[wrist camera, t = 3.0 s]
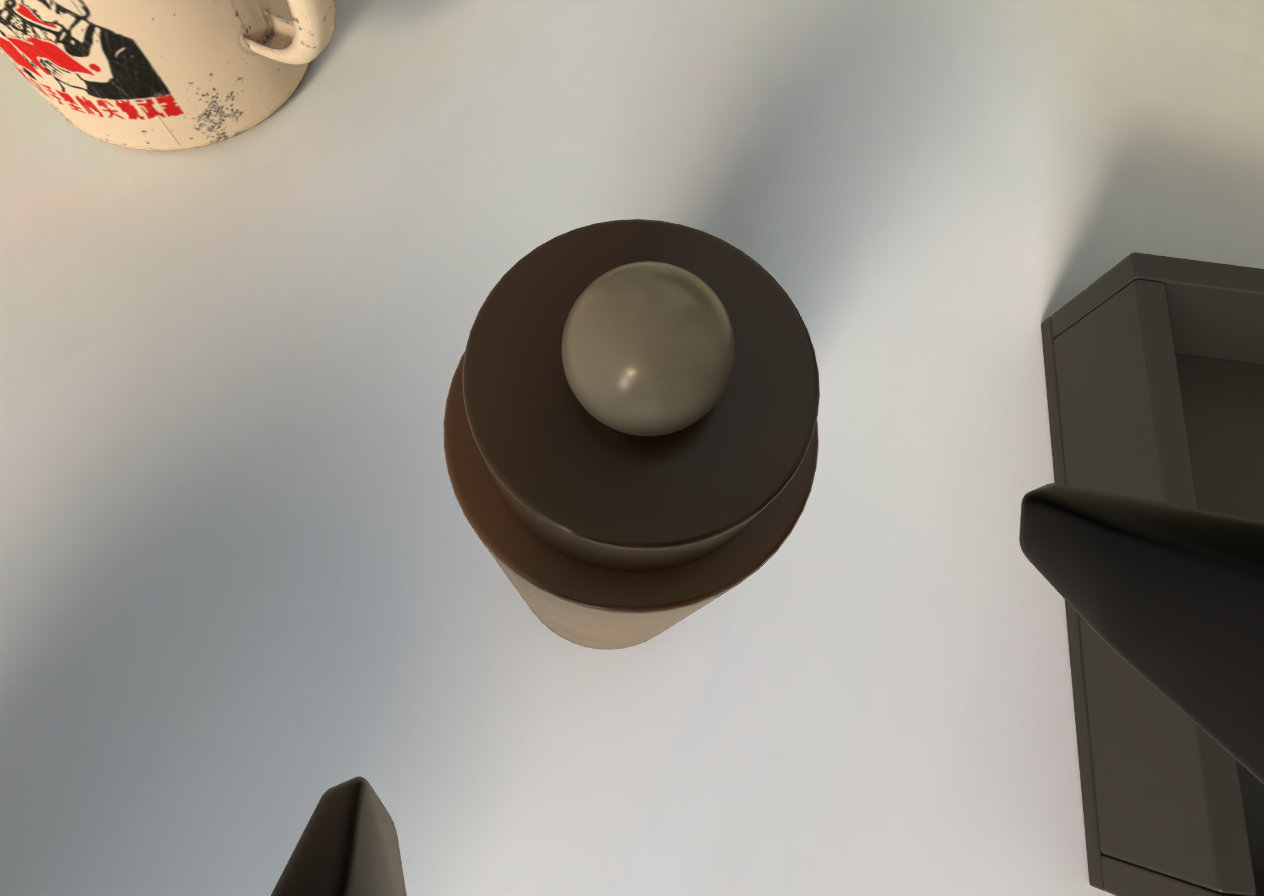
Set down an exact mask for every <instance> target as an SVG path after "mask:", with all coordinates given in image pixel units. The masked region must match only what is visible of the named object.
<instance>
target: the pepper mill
mask: <svg viewBox="0 0 1264 896" xmlns="http://www.w3.org/2000/svg"><path fill="white" fill-rule="evenodd" d="M819 396H820V392H819V372H818V367H817V362H816V356H815V351H814V348H813V345H812V342H811V339H810V336H809V333H808V330H807V328H806V326H805V324H804V322H803V320H802V318H801V316H800V314H799V311H798V310H797V308H796V307H795V305H794V304H793V302H792V301H791V299H790V298H789V296H788V295H787V293H786V292H785V291H784V290H783V288H782V287H781V286H780V285H779V284H778V282H777V281H776V280H775V279H774V278H773V277H772V276H771V275H770V274H769V273H768V272H767V271H766V270H765V269H764V268H763V267H762V266H760V265H759V264H758V263H757V262H756V261H754V260H753V259H752V258H750V257H749V256H748V255H746V254H745V253H744V252H742V251H741V250H739V249H737V248H736V247H734V246H732V245H730V244H729V243H727V242H725V241H723V240H722V239H719V238H717V237H715V236H712V235H710V234H708V233H705V232H703V231H700V230H697V229H693V228H690V227H687V226H684V225H680V224H674V223H669V222H663V221H655V220H641V219H635V220H615V221H609V222H602V223H596V224H592V225H589V226H585V227H581V228H578V229H574V230H572V231H570V232H567V233H565V234H562V235H560V236H557V237H555V238H553V239H551V240H550V241H548V242H546V243H544V244H542V245H541V246H539V247H537V248H536V249H534V250H533V251H532V252H530V253H529V254H527V255H526V256H525V257H523V258H522V259H521V260H519V261H518V262H517V263H516V264H515V265H514V266H513V267H512V268H511V269H510V270H509V271H508V272H507V273H506V274H505V275H504V276H503V277H502V278H501V280H500V281H499V282H498V283H497V285H496V286H495V287H494V288H493V289H492V291H491V292H490V294H489V295H488V297H487V299H486V300H485V302H484V304H483V305H482V307H481V309H480V310H479V312H478V315H477V317H476V319H475V322H474V324H473V326H472V329H471V331H470V335H469V339H468V342H467V346H466V350H465V352H464V354H463V355H462V357H461V360H460V362H459V364H458V367H457V369H456V371H455V374H454V376H453V378H452V382H451V386H450V389H449V393H448V397H447V401H446V409H445V417H444V450H445V457H446V463H447V469H448V473H449V477H450V480H451V483H452V486H453V490H454V493H455V495H456V498H457V500H458V502H459V504H460V506H461V508H462V510H463V513H464V515H465V517H466V518H467V520H468V521H469V523H470V524H471V526H472V527H473V529H474V531H475V532H476V534H477V535H478V537H479V538H480V540H481V541H482V542H483V544H484V545H485V546H486V548H487V549H488V551H489V552H490V553H491V555H492V556H493V557H494V559H495V560H496V562H497V563H498V564H499V566H500V567H501V568H502V570H503V571H504V573H505V574H506V575H507V577H508V578H509V579H510V581H511V582H512V584H513V585H514V586H515V588H516V589H517V590H518V592H519V593H520V595H521V596H522V597H523V599H524V600H525V601H526V603H527V604H528V606H529V607H530V608H531V610H532V611H533V612H534V614H535V615H536V616H537V617H538V618H539V619H540V621H541V622H542V623H543V624H545V625H546V626H547V627H548V628H549V629H550V630H551V631H553V632H554V633H556V634H557V635H559V636H560V637H562V638H564V639H566V640H568V641H570V642H572V643H575V644H578V645H581V646H584V647H589V648H595V649H621V648H626V647H630V646H635V645H637V644H640V643H643V642H645V641H647V640H649V639H651V638H653V637H655V636H657V635H658V634H660V633H662V632H663V631H665V630H666V629H668V628H670V627H671V626H673V625H674V624H676V623H678V622H679V621H681V620H682V619H684V618H686V617H687V616H689V615H690V614H692V613H694V612H695V611H697V610H698V609H700V608H702V607H703V606H705V605H706V604H708V603H710V602H711V601H713V600H714V599H716V598H718V597H719V596H721V595H722V594H724V593H726V592H727V591H729V590H730V589H732V588H734V587H735V586H737V585H738V584H740V583H741V582H742V581H744V580H745V579H746V578H748V577H749V576H750V575H752V574H753V573H755V572H756V571H757V570H759V569H760V568H761V567H762V566H763V565H764V564H765V563H766V562H767V561H768V560H769V559H770V558H771V557H772V556H773V555H774V554H775V553H776V552H777V550H778V549H779V548H780V547H781V545H782V544H783V543H784V541H785V540H786V539H787V537H788V536H789V535H790V533H791V532H792V530H793V528H794V526H795V525H796V523H797V521H798V519H799V518H800V516H801V514H802V512H803V510H804V507H805V505H806V502H807V499H808V497H809V494H810V492H811V488H812V484H813V480H814V476H815V471H816V466H817V455H818V423H817V416H818V406H819Z"/></svg>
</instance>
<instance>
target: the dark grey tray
mask: <svg viewBox="0 0 1264 896" xmlns="http://www.w3.org/2000/svg"><path fill="white" fill-rule="evenodd" d="M1041 330H1042V341H1043V353H1044V364H1045V376H1046V387H1047V399H1048V410H1049V422H1050V433H1051V445H1052V456H1053V468H1054V479H1055V483H1058V484H1064V485H1069V486H1074V487H1080V488H1085V489H1090V490H1096V491H1101V492H1107V493H1112V494H1117V495H1123V496H1128V497H1133V498H1139V499H1144V500H1150V501H1155V502H1160V503H1166V504H1171V505H1176V506H1182V507H1187V508H1193V509H1198V510H1203V511H1209V512H1214V513H1220V514H1225V515H1230V516H1236V517H1241V518H1246V519H1252V520H1257V521H1263V522H1264V269H1258V268H1250V267H1243V266H1235V265H1227V264H1219V263H1212V262H1204V261H1196V260H1189V259H1181V258H1173V257H1165V256H1158V255H1150V254H1142V253H1131V254H1130V255H1129V256H1127V257H1126V258H1125V259H1123V260H1122V261H1121V262H1120V263H1118V264H1117V265H1116V266H1115V267H1113V268H1112V269H1111V270H1109V271H1108V272H1107V273H1106V274H1104V275H1103V276H1102V277H1100V278H1099V279H1098V280H1097V281H1095V282H1094V283H1093V284H1091V285H1090V286H1089V287H1088V288H1086V289H1085V290H1084V291H1083V292H1081V293H1080V294H1079V295H1077V296H1076V297H1075V298H1074V299H1072V300H1071V301H1070V302H1068V303H1067V304H1066V305H1065V306H1063V307H1062V308H1061V309H1059V310H1058V311H1057V312H1056V313H1054V314H1053V315H1052V317H1049V318H1048V319H1046V320H1045V321H1044V322H1042V324H1041ZM1065 605H1066V617H1067V628H1068V640H1069V651H1070V663H1071V674H1072V686H1073V697H1074V709H1075V720H1076V732H1077V743H1078V755H1079V766H1080V778H1081V789H1082V801H1083V812H1084V824H1085V835H1086V847H1087V858H1088V870H1089V881H1090V885H1091V886H1093V887H1096V888H1098V889H1101V890H1103V891H1107V892H1109V893H1111V894H1113V895H1116V896H1264V784H1263V783H1261V782H1260V781H1259V780H1258V779H1257V778H1256V777H1255V776H1254V775H1252V774H1251V773H1250V772H1249V771H1248V770H1247V769H1246V768H1245V767H1244V766H1242V765H1241V764H1240V763H1239V762H1238V761H1237V760H1236V759H1235V758H1233V757H1232V756H1231V755H1230V754H1229V753H1228V752H1227V751H1226V750H1225V749H1223V748H1222V747H1221V746H1220V745H1219V744H1218V743H1217V742H1216V741H1214V740H1213V739H1212V738H1211V737H1210V736H1209V735H1208V734H1207V733H1206V732H1204V731H1203V730H1202V729H1201V728H1200V727H1199V726H1198V725H1197V724H1196V723H1194V722H1193V721H1192V720H1191V719H1190V718H1189V717H1188V716H1187V715H1185V714H1184V713H1183V712H1182V711H1181V710H1180V709H1179V708H1178V707H1177V706H1175V705H1174V704H1173V703H1172V702H1171V701H1170V700H1169V699H1168V698H1166V697H1165V696H1164V695H1163V694H1162V693H1161V692H1160V691H1159V690H1158V689H1156V688H1155V687H1154V686H1153V685H1152V684H1151V683H1150V682H1149V681H1147V680H1146V679H1145V678H1144V677H1143V676H1142V675H1141V674H1140V673H1139V672H1137V671H1136V670H1135V669H1134V668H1133V667H1132V666H1131V665H1130V664H1128V663H1127V662H1126V661H1125V660H1124V659H1123V658H1122V657H1121V656H1120V655H1119V654H1118V653H1116V652H1115V651H1114V650H1113V649H1112V648H1111V647H1110V646H1109V645H1108V644H1107V643H1106V642H1105V641H1104V640H1103V639H1102V638H1101V637H1100V636H1099V635H1098V634H1097V633H1096V632H1095V631H1094V630H1093V629H1092V628H1091V627H1090V626H1089V624H1088V623H1087V622H1086V621H1085V620H1084V619H1083V618H1082V617H1081V616H1080V615H1079V614H1078V613H1077V612H1076V610H1075V609H1074V608H1073V607H1072V606H1071V605H1070V604H1069V603H1068V602H1067V601H1066V600H1065Z"/></svg>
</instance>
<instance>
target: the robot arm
mask: <svg viewBox="0 0 1264 896" xmlns="http://www.w3.org/2000/svg"><path fill="white" fill-rule="evenodd" d="M1019 541H1020V546H1021V549H1022V551H1023V553H1024V554H1025V556H1026V557H1027V559H1028V560H1029V561H1030V562H1031V563H1032V564H1033V565H1034V566H1035V567H1036V569H1037V570H1038V571H1039V572H1040V573H1041V574H1042V575H1043V576H1044V577H1045V578H1046V579H1047V580H1048V581H1049V583H1050V584H1051V585H1052V586H1053V587H1054V588H1055V589H1056V590H1057V591H1058V592H1059V593H1060V594H1061V595H1062V596H1063V598H1064V599H1065V600H1066V601H1067V602H1068V603H1069V604H1070V605H1071V606H1072V607H1073V608H1074V609H1075V610H1076V612H1077V613H1078V614H1079V615H1080V616H1081V617H1082V618H1083V619H1084V620H1085V621H1086V622H1087V623H1088V624H1089V626H1090V627H1091V628H1092V629H1093V630H1094V631H1095V632H1096V633H1097V634H1098V635H1099V636H1100V637H1101V638H1102V639H1103V640H1104V641H1105V642H1106V643H1107V644H1108V645H1109V646H1110V647H1111V648H1112V649H1113V650H1114V651H1115V652H1116V653H1118V654H1119V655H1120V656H1121V657H1122V658H1123V659H1124V660H1125V661H1126V662H1127V663H1128V664H1130V665H1131V666H1132V667H1133V668H1134V669H1135V670H1136V671H1137V672H1139V673H1140V674H1141V675H1142V676H1143V677H1144V678H1145V679H1146V680H1147V681H1149V682H1150V683H1151V684H1152V685H1153V686H1154V687H1155V688H1156V689H1158V690H1159V691H1160V692H1161V693H1162V694H1163V695H1164V696H1165V697H1166V698H1168V699H1169V700H1170V701H1171V702H1172V703H1173V704H1174V705H1175V706H1177V707H1178V708H1179V709H1180V710H1181V711H1182V712H1183V713H1184V714H1185V715H1187V716H1188V717H1189V718H1190V719H1191V720H1192V721H1193V722H1194V723H1196V724H1197V725H1198V726H1199V727H1200V728H1201V729H1202V730H1203V731H1204V732H1206V733H1207V734H1208V735H1209V736H1210V737H1211V738H1212V739H1213V740H1214V741H1216V742H1217V743H1218V744H1219V745H1220V746H1221V747H1222V748H1223V749H1225V750H1226V751H1227V752H1228V753H1229V754H1230V755H1231V756H1232V757H1233V758H1235V759H1236V760H1237V761H1238V762H1239V763H1240V764H1241V765H1242V766H1244V767H1245V768H1246V769H1247V770H1248V771H1249V772H1250V773H1251V774H1252V775H1254V776H1255V777H1256V778H1257V779H1258V780H1259V781H1260V782H1261V783H1263V784H1264V522H1263V521H1257V520H1252V519H1246V518H1241V517H1236V516H1230V515H1225V514H1220V513H1214V512H1209V511H1203V510H1198V509H1193V508H1187V507H1182V506H1176V505H1171V504H1166V503H1160V502H1155V501H1150V500H1144V499H1139V498H1133V497H1128V496H1123V495H1117V494H1112V493H1107V492H1101V491H1096V490H1090V489H1085V488H1080V487H1074V486H1069V485H1064V484H1058V483H1051V484H1047V485H1045V486H1042V487H1040V488H1037V489H1035V490H1033V491H1030V492H1028V493H1027V494H1025V496H1024V497H1023V499H1022V503H1021V519H1020V536H1019ZM271 896H407V895H406V889H405V882H404V876H403V869H402V863H401V856H400V850H399V843H398V837H397V833H396V829H395V826H394V823H393V820H392V818H391V816H390V815H389V813H388V812H387V810H386V808H385V807H384V805H383V804H382V802H381V801H380V799H379V798H378V796H377V795H376V793H375V791H374V790H373V788H372V787H371V785H370V784H369V782H368V781H367V780H366V779H364V778H363V777H355V778H353V779H350V780H348V781H346V782H343V783H341V784H339V785H336V786H334V787H332V788H330V789H328V790H327V791H326V792H325V793H324V794H323V796H322V797H321V799H320V801H319V803H318V805H317V807H316V809H315V811H314V813H313V814H312V816H311V818H310V820H309V822H308V824H307V826H306V828H305V830H304V832H303V834H302V836H301V838H300V840H299V842H298V844H297V846H296V848H295V849H294V851H293V853H292V855H291V857H290V859H289V861H288V863H287V865H286V867H285V869H284V871H283V873H282V875H281V877H280V879H279V881H278V883H277V884H276V886H275V888H274V890H273V892H272V894H271Z"/></svg>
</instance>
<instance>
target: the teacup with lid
mask: <svg viewBox="0 0 1264 896" xmlns="http://www.w3.org/2000/svg"><path fill="white" fill-rule="evenodd" d="M334 27H335V6H334V1H333V0H0V51H1V52H2V53H3V54H4V55H5V56H6V57H7V58H8V59H9V60H10V62H11V63H12V64H13V65H14V66H15V67H16V68H17V69H18V70H19V71H20V72H21V73H22V75H23V76H24V77H25V78H26V79H27V80H28V81H29V82H30V83H31V84H32V85H33V86H34V88H35V89H36V90H37V91H38V92H39V93H40V94H41V95H42V96H43V97H44V98H45V99H46V101H47V102H48V103H49V104H50V105H51V106H52V107H53V108H54V109H55V110H56V111H57V112H58V113H59V114H60V115H61V116H63V117H64V118H65V119H66V120H67V121H69V122H70V123H71V124H73V125H74V126H76V127H77V128H79V129H81V130H82V131H84V132H86V133H88V134H90V135H92V136H95V137H97V138H99V139H101V140H104V141H107V142H110V143H113V144H116V145H121V146H125V147H130V148H136V149H144V150H181V149H189V148H195V147H201V146H205V145H209V144H213V143H216V142H219V141H222V140H226V139H228V138H230V137H233V136H235V135H238V134H240V133H242V132H244V131H246V130H248V129H250V128H252V127H253V126H255V125H257V124H258V123H260V122H261V121H263V120H264V119H266V118H267V117H268V116H270V115H271V114H272V113H273V112H275V111H276V110H277V109H278V108H279V107H280V106H281V105H282V104H283V103H284V102H285V101H286V100H287V99H288V98H289V97H290V95H291V94H292V93H293V92H294V90H295V89H296V87H297V86H298V84H299V83H300V81H301V79H302V78H303V76H304V74H305V71H306V69H307V67H308V64H309V62H310V61H312V60H314V59H315V58H316V57H317V56H318V55H319V54H320V53H321V52H322V51H323V49H324V48H325V47H326V46H327V44H328V43H329V41H330V40H331V37H332V35H333V32H334Z"/></svg>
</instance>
